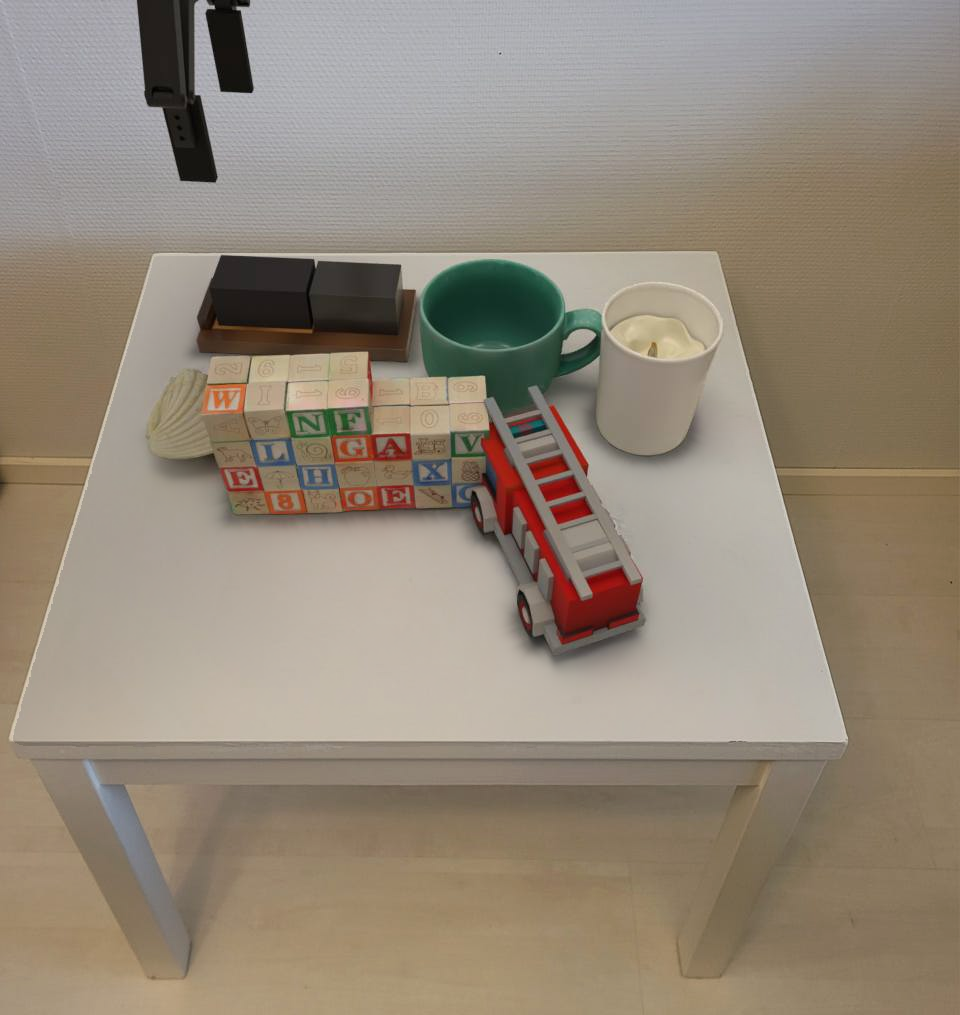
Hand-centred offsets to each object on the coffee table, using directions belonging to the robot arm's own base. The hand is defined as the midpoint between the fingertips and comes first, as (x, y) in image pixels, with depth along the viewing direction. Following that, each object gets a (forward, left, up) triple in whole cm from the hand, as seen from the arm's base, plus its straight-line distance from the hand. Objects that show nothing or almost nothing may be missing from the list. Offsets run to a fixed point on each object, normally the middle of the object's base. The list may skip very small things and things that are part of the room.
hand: (219, 132), depth 78 cm
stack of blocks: (+12, -19, -21) cm, 31 cm away
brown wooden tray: (+5, +1, -21) cm, 22 cm away
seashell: (-2, -15, -21) cm, 26 cm away
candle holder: (+37, -10, -21) cm, 43 cm away
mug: (+25, -6, -21) cm, 33 cm away
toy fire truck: (+28, -25, -21) cm, 44 cm away
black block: (+1, +2, -20) cm, 19 cm away
